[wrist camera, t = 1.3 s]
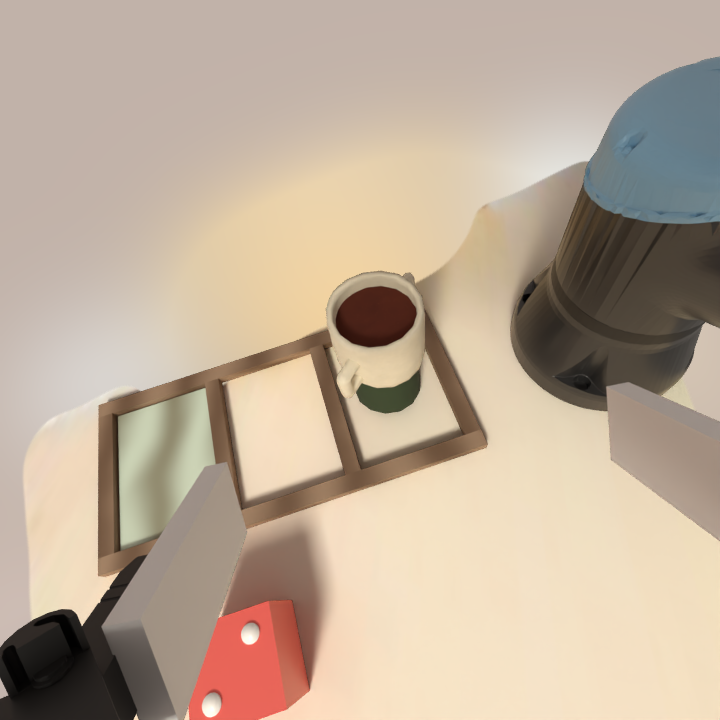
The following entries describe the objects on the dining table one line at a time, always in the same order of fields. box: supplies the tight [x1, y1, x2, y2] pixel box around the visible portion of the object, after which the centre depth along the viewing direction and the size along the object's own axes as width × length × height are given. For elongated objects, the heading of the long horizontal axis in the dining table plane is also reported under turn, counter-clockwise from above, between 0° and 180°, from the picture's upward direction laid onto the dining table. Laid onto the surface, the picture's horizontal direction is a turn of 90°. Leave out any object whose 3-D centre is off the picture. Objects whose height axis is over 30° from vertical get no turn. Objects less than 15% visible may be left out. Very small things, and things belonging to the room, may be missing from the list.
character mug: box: [326, 271, 425, 413], centre depth 37 cm, size 11×7×13 cm, turn 149°
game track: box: [98, 309, 488, 577], centre depth 41 cm, size 34×16×1 cm, turn 107°
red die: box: [189, 600, 310, 720], centre depth 30 cm, size 6×6×6 cm
